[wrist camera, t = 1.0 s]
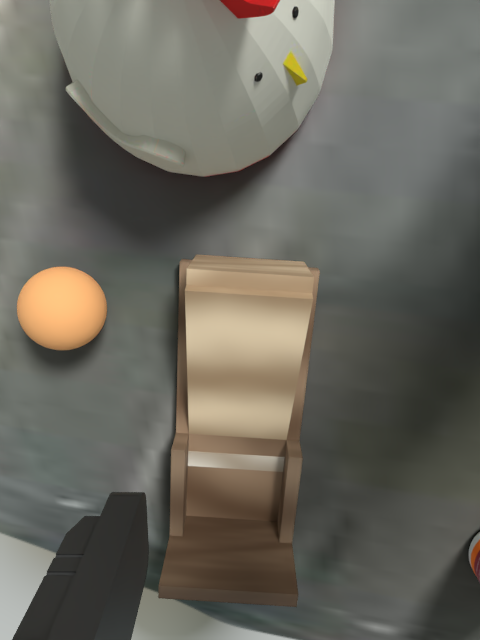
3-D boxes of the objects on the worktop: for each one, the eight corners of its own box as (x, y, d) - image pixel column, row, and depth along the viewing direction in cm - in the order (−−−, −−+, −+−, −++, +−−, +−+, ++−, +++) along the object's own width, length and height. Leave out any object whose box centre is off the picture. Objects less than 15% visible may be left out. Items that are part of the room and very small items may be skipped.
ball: (37, 257, 28) (-6, 273, 23) (116, 262, 28) (89, 279, 23) (43, 331, 30) (4, 360, 25) (117, 336, 30) (92, 366, 25)
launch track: (186, 249, 30) (161, 277, 21) (313, 257, 30) (340, 289, 21) (179, 499, 36) (158, 598, 27) (285, 506, 36) (296, 606, 27)
